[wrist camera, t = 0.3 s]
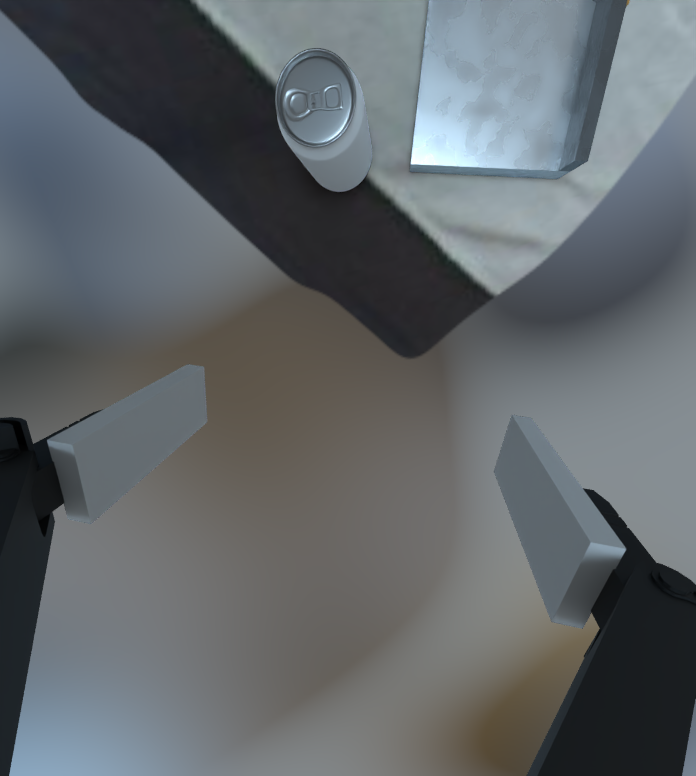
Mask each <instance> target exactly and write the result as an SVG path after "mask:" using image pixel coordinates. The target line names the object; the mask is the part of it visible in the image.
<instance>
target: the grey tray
mask: <svg viewBox="0 0 696 776" xmlns="http://www.w3.org/2000/svg"><path fill="white" fill-rule="evenodd" d="M628 4H629V0H429V3H428V12H427V21H426V30H425V39H424V48H423V57H422V66H421V74H420V83H419V92H418V101H417V110H416V119H415V128H414V137H413V146H412V155H411V164H410V172H423V173H443V174H464V175H484V176H504V177H524V178H544V179H559V178H560V177H562V176H564V175H565V174H567V173H569V172H570V171H572V170H574V169H575V168H577V167H579V166H580V165H582V164H584V163H585V162H587V161H588V158H589V154H590V150H591V146H592V142H593V138H594V134H595V130H596V126H597V122H598V117H599V113H600V109H601V105H602V101H603V97H604V93H605V89H606V85H607V81H608V77H609V73H610V69H611V65H612V61H613V57H614V53H615V48H616V44H617V40H618V36H619V32H620V28H621V24H622V20H623V16H624V12H625V8H626V6H627V5H628Z"/></svg>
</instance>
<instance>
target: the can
mask: <svg viewBox="0 0 696 776" xmlns="http://www.w3.org/2000/svg"><path fill="white" fill-rule="evenodd" d="M275 105H276V111H277V119H278V124H279V127H280V130H281V133H282V135H283V137H284V139H285V141H286V142H287V144H288V145H289V147H290V148H291V149H292V151H293V152H294V153H295V155H296V156H297V157H298V158H299V160H300V161H301V162H302V164H303V165H304V166H305V167H306V169H307V170H308V171H309V172H310V174H311V175H312V176H313V177H314V178H315V180H316V181H317V182H318V183H319V184H320V185H321V186H323V187H324V188H326V189H328V190H331V191H335V192H344V191H348V190H350V189H353V188H354V187H356V186H357V185H358V184H360V183H361V182H362V181H363V179H364V178H365V176H366V175H367V173H368V171H369V168H370V165H371V161H372V145H371V138H370V131H369V125H368V119H367V113H366V107H365V102H364V97H363V93H362V89H361V86H360V84H359V81H358V79H357V77H356V76H355V74H354V73H353V71H352V70H351V69H350V68H349V67H348V66H347V65H346V63H345V62H344V61H343V60H342V59H341V58H340V57H339V56H338V55H336V54H335V53H333V52H331V51H329V50H326V49H321V48H313V49H307V50H304V51H302V52H300V53H298V54H297V55H295V56H294V57H293V58H292V59H291V60H290V61H289V62H288V63H287V64H286V66H285V67H284V69H283V70H282V72H281V74H280V77H279V79H278V82H277V87H276V93H275Z"/></svg>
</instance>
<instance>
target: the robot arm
mask: <svg viewBox="0 0 696 776" xmlns="http://www.w3.org/2000/svg"><path fill="white" fill-rule="evenodd" d="M206 423H207V408H206V392H205V375H204V367H201V366H195V365H189V364H188V365H185V366H184V367H182V368H180V369H178V370H176V371H174V372H172V373H171V374H169V375H167V376H165V377H163V378H161V379H159V380H158V381H156V382H154V383H152V384H150V385H148V386H146V387H145V388H143V389H141V390H139V391H137V392H135V393H133V394H132V395H130V396H128V397H126V398H124V399H123V400H120V401H118V402H117V403H115V404H113V405H111V406H109V407H107V408H106V409H103V410H100V411H96V412H93V413H91V414H89V415H88V416H85V417H84V418H82V419H80V421H76V422H74V423H72V424H70V425H69V427H65V428H63V429H61V430H59V431H57V432H55V433H53V434H51V435H50V436H48V437H46V438H44V439H42V440H40V441H39V442H36V443H34V444H33V442H32V439H31V435H30V432H29V429H28V425H27V421H26V420H23V419H21V418H13V417H9V418H0V776H9V773H10V767H11V762H12V756H13V751H14V744H15V739H16V734H17V728H18V723H19V717H20V712H21V706H22V700H23V695H24V690H25V684H26V678H27V673H28V667H29V662H30V656H31V651H32V645H33V640H34V634H35V628H36V623H37V618H38V612H39V607H40V601H41V595H42V590H43V584H44V579H45V573H46V568H47V562H48V556H49V551H50V545H51V540H52V534H53V529H54V523H55V521H54V516H53V513H52V512H53V511H54V510H55V509H57V508H58V507H59V506H61V505H62V504H63V503H64V506H65V510H66V514H67V518H68V519H70V520H74V521H79V522H84V523H88V524H92V523H93V522H94V521H95V520H96V519H97V518H99V517H100V516H101V515H102V514H103V513H104V512H105V511H106V510H108V509H109V508H110V507H111V506H112V505H113V504H114V503H116V502H117V501H118V500H119V499H120V498H121V497H122V496H124V495H125V494H126V493H127V492H128V491H129V490H130V489H131V488H133V487H134V486H135V485H136V484H137V483H138V482H139V481H141V480H142V479H143V478H144V477H145V476H146V475H147V474H149V473H150V472H151V471H152V470H153V469H154V468H155V467H156V466H158V465H159V464H160V463H161V462H162V461H163V460H165V459H166V458H167V457H168V456H169V455H170V454H171V453H173V452H174V451H175V450H176V449H177V448H178V447H179V446H181V445H182V444H183V443H184V442H185V441H186V440H187V439H188V438H190V437H191V435H193V434H194V433H195V432H196V431H198V430H199V429H200V428H201V427H202V426H203V425H204V424H206ZM494 473H495V476H496V479H497V481H498V484H499V486H500V489H501V492H502V494H503V497H504V499H505V502H506V504H507V507H508V510H509V513H510V515H511V518H512V520H513V523H514V525H515V528H516V531H517V533H518V536H519V539H520V541H521V544H522V546H523V549H524V551H525V554H526V557H527V559H528V562H529V564H530V567H531V570H532V572H533V575H534V578H535V580H536V583H537V585H538V588H539V591H540V593H541V596H542V599H543V601H544V604H545V606H546V609H547V612H548V614H549V617H550V619H551V622H554V623H559V624H563V625H568V626H573V627H578V628H582V629H583V627H584V625H585V623H586V622H587V620H588V618H589V616H590V614H591V613H592V614H593V616H594V618H595V620H596V622H597V624H598V626H599V628H600V629H599V631H598V632H597V634H596V636H595V638H594V640H593V641H592V643H591V645H590V646H589V648H588V650H587V651H586V653H585V655H584V657H585V658H584V660H583V662H582V664H581V666H580V668H579V670H578V672H577V674H576V676H575V678H574V680H573V682H572V684H571V687H570V688H569V690H568V693H567V695H566V697H565V699H564V701H563V703H562V705H561V707H560V709H559V711H558V713H557V715H556V717H555V719H554V721H553V723H552V725H551V727H550V729H549V731H548V733H547V735H546V737H545V739H544V741H543V743H542V745H541V747H540V750H539V751H538V754H537V755H536V757H535V760H534V762H533V764H532V766H531V768H530V770H529V772H528V774H527V776H682V772H683V766H684V761H685V755H686V750H687V744H688V737H689V733H690V727H691V721H692V715H693V709H694V704H695V698H696V585H695V584H694V583H693V582H692V581H691V580H690V579H688V578H687V577H685V576H683V575H682V574H680V573H679V572H678V571H676V570H673V569H671V568H669V567H667V566H665V565H663V564H659V563H656V562H655V560H654V559H653V558H652V557H651V555H650V554H649V553H648V552H647V550H646V549H645V548H644V546H643V545H642V544H641V543H640V542H639V540H638V539H637V538H636V536H635V535H634V534H633V533H632V531H631V530H630V529H629V528H627V525H626V524H625V522H624V521H623V520H622V519H621V518H620V517H619V516H618V514H617V512H616V511H615V510H614V508H613V507H612V506H611V505H610V503H609V502H608V501H606V500H605V499H604V498H603V497H601V496H600V495H599V494H597V493H596V492H595V491H594V490H590V489H584V488H582V487H581V485H580V484H579V483H578V481H577V480H576V479H575V477H574V476H573V474H572V473H571V472H570V470H569V469H568V468H567V466H566V465H565V463H564V462H563V461H562V459H561V458H560V457H559V455H558V454H557V453H556V451H555V450H554V449H553V447H552V445H551V444H550V443H549V441H548V440H547V439H546V437H545V436H544V434H543V433H542V432H541V430H540V429H539V428H538V426H537V425H536V423H535V422H534V421H533V419H532V418H529V417H523V416H517V415H511V419H510V422H509V425H508V428H507V431H506V434H505V438H504V441H503V444H502V447H501V450H500V454H499V457H498V460H497V463H496V466H495V469H494Z"/></svg>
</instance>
